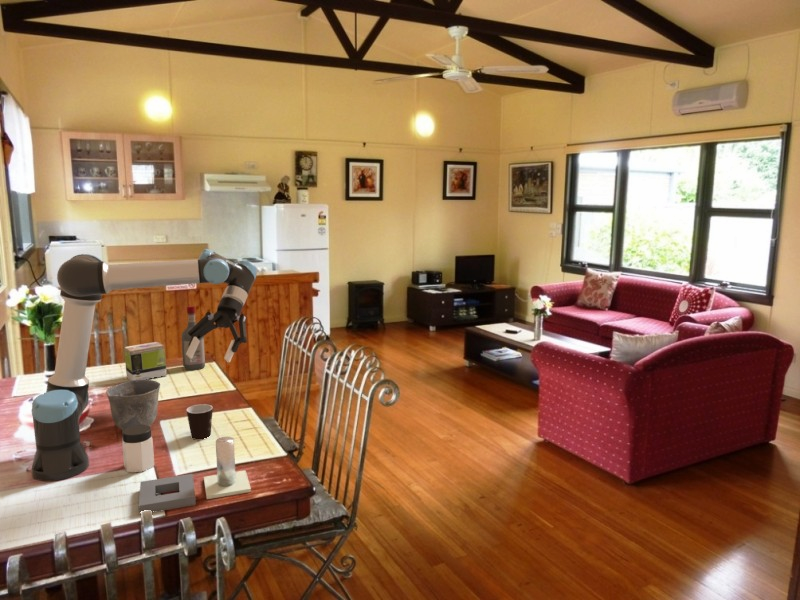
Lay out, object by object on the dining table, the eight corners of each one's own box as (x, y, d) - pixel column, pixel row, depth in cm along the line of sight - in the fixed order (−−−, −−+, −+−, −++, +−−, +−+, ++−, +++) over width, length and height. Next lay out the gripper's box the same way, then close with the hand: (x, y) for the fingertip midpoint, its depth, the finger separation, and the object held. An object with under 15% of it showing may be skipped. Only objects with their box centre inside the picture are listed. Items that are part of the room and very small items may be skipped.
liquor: (206, 368, 284) (202, 307, 278) (186, 371, 279) (182, 309, 274) (201, 363, 291) (198, 304, 286) (182, 366, 287) (179, 305, 282)
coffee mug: (206, 442, 201) (204, 414, 199) (183, 439, 203) (181, 412, 201) (222, 429, 212) (221, 402, 210) (200, 426, 214) (199, 400, 212)
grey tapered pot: (108, 422, 217) (105, 383, 214) (160, 414, 225) (157, 377, 222) (110, 440, 201) (106, 398, 199) (165, 431, 209) (162, 391, 207)
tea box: (159, 371, 279) (157, 340, 276) (167, 376, 271) (165, 345, 269) (125, 377, 269) (123, 345, 267) (132, 382, 262) (130, 350, 259)
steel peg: (218, 487, 168) (216, 444, 166) (216, 480, 172) (215, 438, 170) (236, 485, 170) (234, 442, 167) (234, 477, 174) (232, 435, 172)
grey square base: (139, 514, 156) (138, 505, 155) (141, 489, 168) (140, 481, 168) (195, 504, 161) (195, 496, 160) (193, 481, 173) (192, 473, 173)
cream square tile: (206, 499, 164) (206, 496, 163) (203, 479, 175) (203, 476, 174) (251, 491, 168) (250, 488, 168) (245, 473, 179) (245, 470, 179)
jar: (158, 460, 187) (155, 424, 185) (150, 472, 179) (147, 434, 177) (128, 461, 186) (126, 425, 184) (119, 473, 178) (116, 435, 176)
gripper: (270, 311, 195) (248, 367, 183) (204, 306, 202) (179, 360, 190) (261, 298, 189) (238, 355, 177) (194, 293, 196) (167, 348, 184)
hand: (207, 358), depth 184 cm, fingers open, 13 cm apart
